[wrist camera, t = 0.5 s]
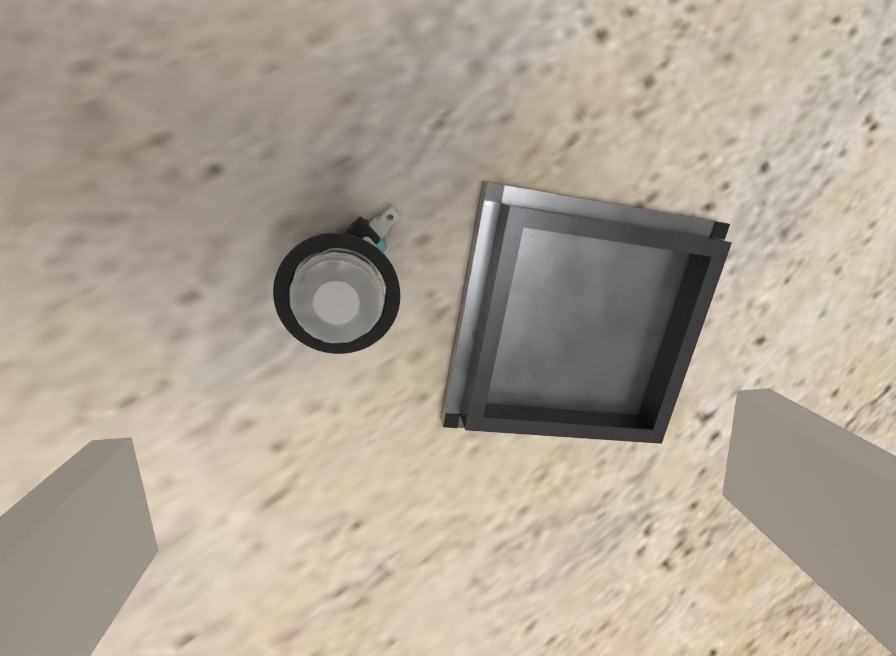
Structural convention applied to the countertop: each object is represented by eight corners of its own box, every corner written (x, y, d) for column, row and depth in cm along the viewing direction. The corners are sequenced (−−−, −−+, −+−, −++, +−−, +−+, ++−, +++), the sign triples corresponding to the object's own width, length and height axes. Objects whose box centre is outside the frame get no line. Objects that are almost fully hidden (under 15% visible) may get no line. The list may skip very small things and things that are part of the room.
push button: (364, 174, 28) (362, 185, 19) (426, 243, 30) (451, 285, 20) (282, 252, 29) (239, 300, 19) (346, 314, 31) (336, 386, 21)
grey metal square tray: (483, 181, 29) (496, 184, 26) (716, 221, 32) (752, 228, 29) (440, 417, 34) (447, 442, 31) (645, 432, 37) (670, 456, 34)
